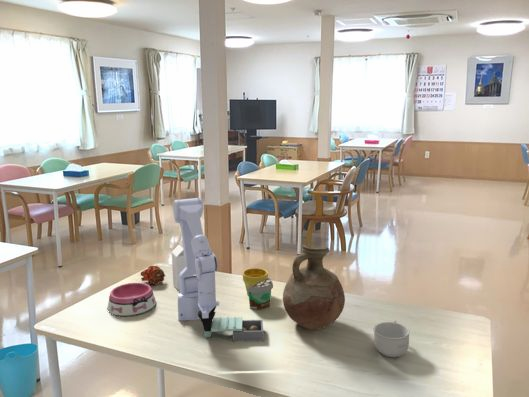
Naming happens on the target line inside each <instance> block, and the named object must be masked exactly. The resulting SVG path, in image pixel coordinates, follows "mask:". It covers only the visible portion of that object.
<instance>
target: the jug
mask: <svg viewBox="0 0 529 397" xmlns="http://www.w3.org/2000/svg"><path fill="white" fill-rule="evenodd" d="M301 251H302V253H299V254H297V255H296V257H295V258H294V260H293V263H292V268H291V269H292V274H291V275H290V276H289V278H288V280H287V281H286V284H285V286H284V287H283V288H284V289H283V292H282V305H283V307H284V310H285V312H286V314H287V316H288V317H289V318H290V319H291V320H292V322H294V323H296V324H298V325H300V327H301V328H303V329H305V330H311V331H319V330H320V329H324V328H326V327H329V326H330V325H332V324H333V323H334V322H335V321H337V319H338V318H339V317H340V316H341V314H342V312H344V311H343V310H344V308H345V301H346V297H345V292H344V288H343V285H342V282H341V281H340V280H339V277H338V276H337V275H336V273H334V272H332V271H330V270H328V269H327V268H325V267H324V263H323V259H324V257H326V256H327V254H328V253H329V252H330V249H329V247H328V246H327V247H325V248H316V247H310V245H304V244H302V245H301ZM306 260H307V262H306V263H307V264H306V266H305V267H301V264H302V263H303V262H304V261H306Z"/></svg>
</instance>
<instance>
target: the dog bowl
mask: <svg viewBox="0 0 529 397" xmlns="http://www.w3.org/2000/svg"><path fill="white" fill-rule="evenodd" d="M154 294H155V293H154V292H153V288H152V286H150V285H149V284H148V283H144V282H129V283H124V284H121V285H118V286H116V287H114V288H113V289H111V291H110V293H109V296H108V302H107V307H106V311H107V310H108V311H109V312H108V311H107V312H108V313H109V314H110V313H111V314H110V315H112V314H113V315H112V316H114V315H115V317H119V316H120V317H121V318H127V317H128V318H130V317H135V316H136V317H137V316H141V315H144V314H146V313H149V312H151V311H152V310H153V309H154V308H156V306H157V300H156V297H155V295H154Z"/></svg>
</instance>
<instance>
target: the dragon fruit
mask: <svg viewBox="0 0 529 397" xmlns="http://www.w3.org/2000/svg"><path fill="white" fill-rule="evenodd" d="M140 276H141V279H140V280H141V281H142V282H147V285H149V286H150V285H152V284H153V285H159V284H160V283H162V282H164V281H165V277H166V274H165V272H164V270H163V269H161V267H159V266H158V265H149V266H148V268H147V269H144V270H142V271H141V272H140Z"/></svg>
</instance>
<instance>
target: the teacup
mask: <svg viewBox="0 0 529 397" xmlns="http://www.w3.org/2000/svg"><path fill="white" fill-rule="evenodd" d="M410 333H411V332H410V328H408V327H407V326H406V325H404V324H402V323H399V322H398V323H397V320H395V319H391V321H384V322H380V323H378V324H376V325H375V326H374V327H373V338H374V346H375V348H376V350H377V351H378V352H379V353H380V354H382V355H383V356H386V357H389V358H399V357H401V356H402V355H405V353H406V352H408V349H409V344H410Z"/></svg>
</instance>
